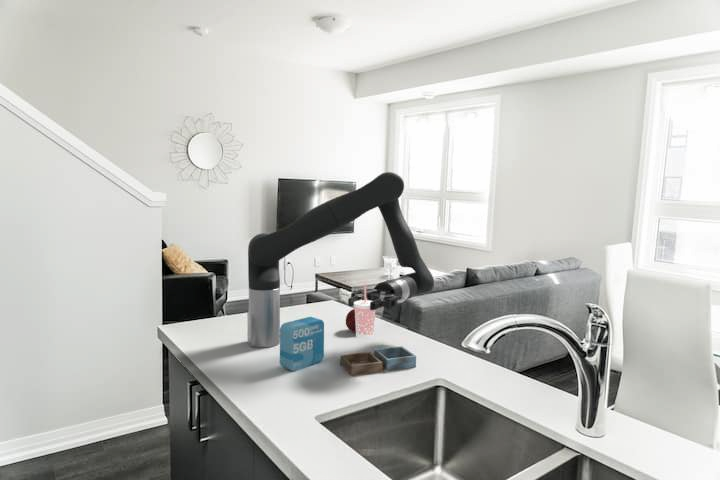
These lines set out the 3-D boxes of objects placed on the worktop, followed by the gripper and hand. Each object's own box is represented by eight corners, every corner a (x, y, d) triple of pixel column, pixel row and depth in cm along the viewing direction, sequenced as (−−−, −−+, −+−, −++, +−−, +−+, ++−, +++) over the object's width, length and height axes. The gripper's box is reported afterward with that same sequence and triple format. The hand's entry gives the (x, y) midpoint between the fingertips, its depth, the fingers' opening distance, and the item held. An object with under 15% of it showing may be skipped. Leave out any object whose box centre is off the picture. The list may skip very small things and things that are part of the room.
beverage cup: (349, 333, 131) (350, 282, 130) (370, 331, 134) (370, 281, 132) (358, 340, 126) (359, 287, 124) (380, 337, 128) (381, 285, 127)
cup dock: (351, 375, 125) (351, 364, 125) (340, 364, 133) (340, 353, 132) (415, 366, 132) (416, 356, 132) (401, 356, 140) (401, 346, 139)
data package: (290, 372, 126) (290, 327, 125) (279, 368, 129) (279, 323, 128) (324, 361, 135) (324, 318, 134) (313, 357, 138) (313, 315, 137)
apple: (352, 336, 157) (352, 312, 157) (341, 329, 164) (341, 306, 163) (371, 333, 161) (372, 309, 160) (360, 327, 168) (360, 304, 167)
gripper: (370, 276, 144) (337, 286, 130) (414, 283, 136) (384, 294, 122) (370, 301, 145) (337, 314, 131) (413, 309, 137) (384, 323, 123)
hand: (360, 304), depth 127 cm, fingers closed on beverage cup, 6 cm apart
